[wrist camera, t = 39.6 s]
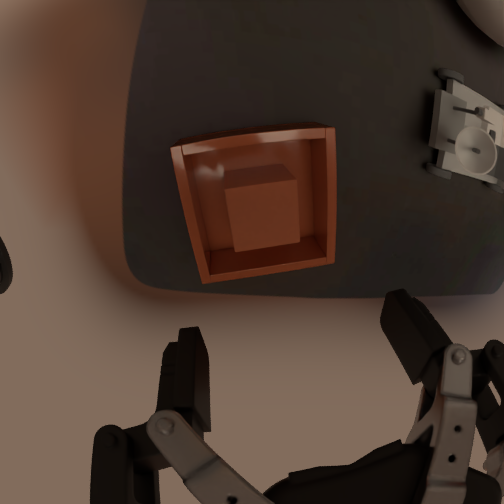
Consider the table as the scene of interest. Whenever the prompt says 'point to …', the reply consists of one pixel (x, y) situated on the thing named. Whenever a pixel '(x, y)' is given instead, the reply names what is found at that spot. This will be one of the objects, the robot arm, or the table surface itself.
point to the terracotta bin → (253, 155)
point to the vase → (486, 17)
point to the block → (262, 206)
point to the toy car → (467, 133)
